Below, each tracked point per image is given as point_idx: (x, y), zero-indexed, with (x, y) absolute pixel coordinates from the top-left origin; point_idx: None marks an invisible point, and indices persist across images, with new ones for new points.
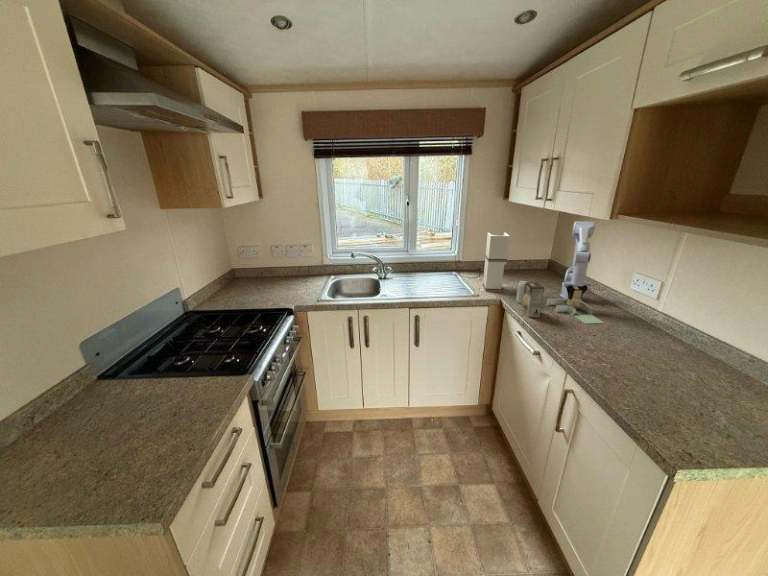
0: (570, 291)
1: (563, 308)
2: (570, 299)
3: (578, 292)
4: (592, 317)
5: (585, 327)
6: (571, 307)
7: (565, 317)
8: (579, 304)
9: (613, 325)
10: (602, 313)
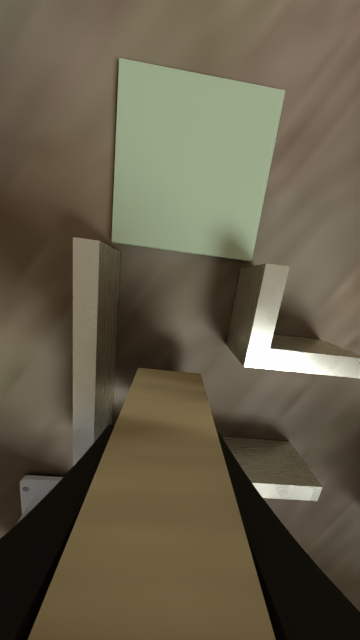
0: (348, 605)
1: (295, 344)
2: (218, 433)
3: (149, 548)
4: (144, 190)
5: (332, 23)
6: (274, 310)
7: (329, 247)
8: (105, 401)
9: (62, 3)
10: (5, 265)
